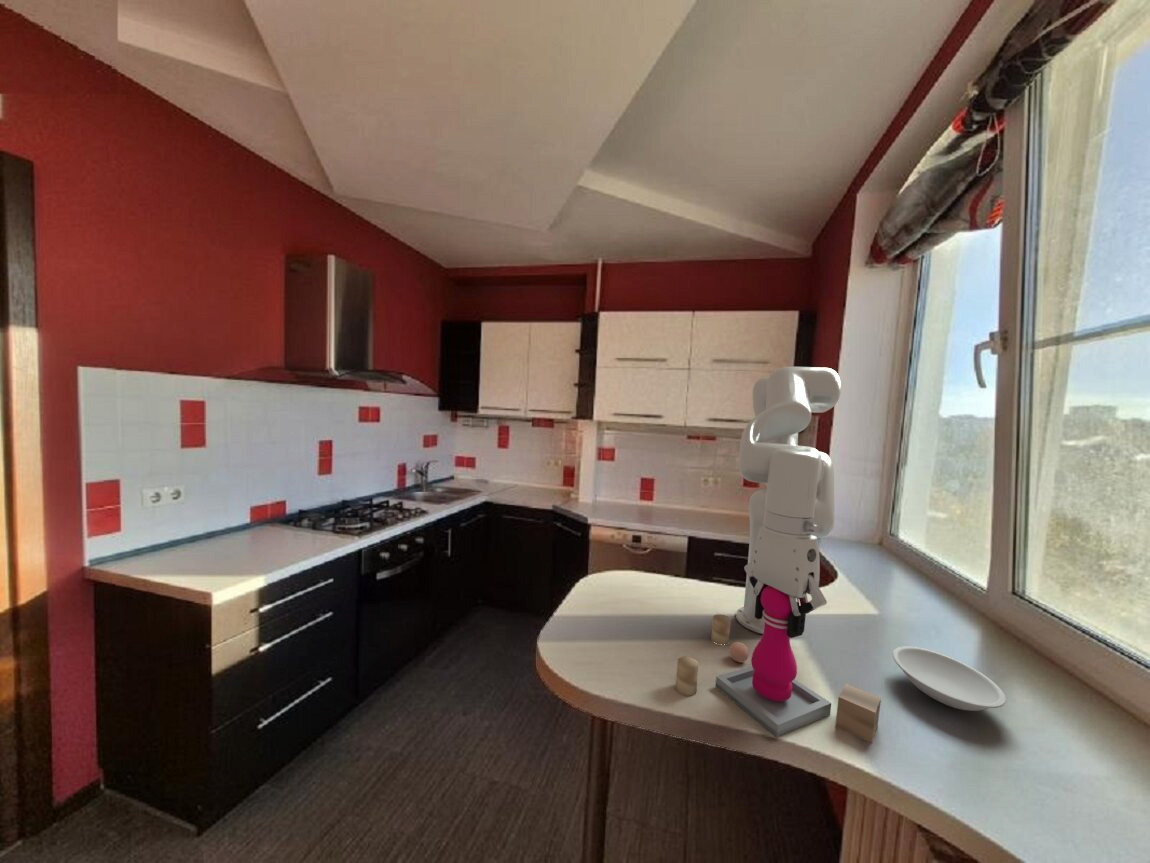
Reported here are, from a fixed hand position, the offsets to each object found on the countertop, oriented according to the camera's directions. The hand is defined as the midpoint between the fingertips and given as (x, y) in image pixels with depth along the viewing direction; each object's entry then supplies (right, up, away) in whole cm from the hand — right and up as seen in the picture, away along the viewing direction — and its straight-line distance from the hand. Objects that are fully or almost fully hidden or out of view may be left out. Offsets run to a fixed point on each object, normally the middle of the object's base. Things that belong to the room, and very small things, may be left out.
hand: (777, 625), depth 78 cm
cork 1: (-15, -12, +2) cm, 20 cm away
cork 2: (-4, -12, +20) cm, 23 cm away
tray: (-1, -13, +1) cm, 13 cm away
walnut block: (+11, -15, -4) cm, 19 cm away
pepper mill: (-1, -12, +1) cm, 12 cm away
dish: (+31, -15, +4) cm, 35 cm away
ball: (-2, -11, +12) cm, 16 cm away
